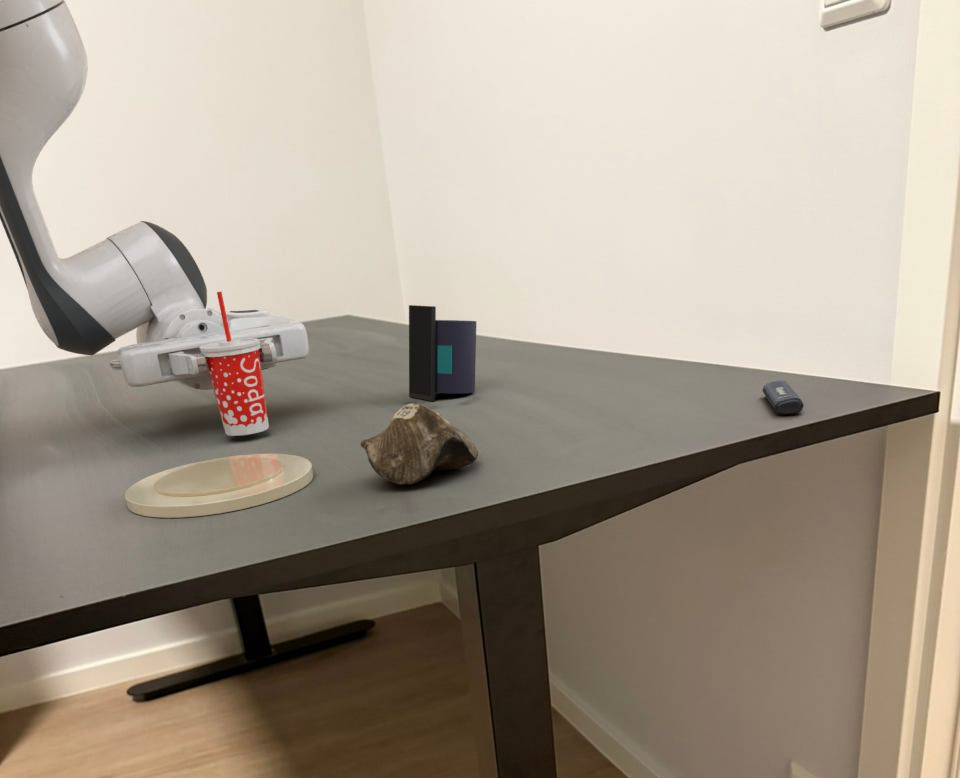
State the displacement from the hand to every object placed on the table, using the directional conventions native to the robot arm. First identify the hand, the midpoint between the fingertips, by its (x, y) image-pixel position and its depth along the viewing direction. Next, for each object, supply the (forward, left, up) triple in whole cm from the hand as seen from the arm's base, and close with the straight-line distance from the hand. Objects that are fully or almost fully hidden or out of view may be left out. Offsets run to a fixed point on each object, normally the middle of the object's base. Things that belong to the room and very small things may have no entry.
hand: (235, 358), depth 98 cm
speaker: (+20, +14, -8) cm, 26 cm away
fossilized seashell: (+20, -22, -8) cm, 31 cm away
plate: (+2, -20, -8) cm, 21 cm away
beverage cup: (0, +1, -8) cm, 8 cm away
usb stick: (+53, -8, -8) cm, 55 cm away
